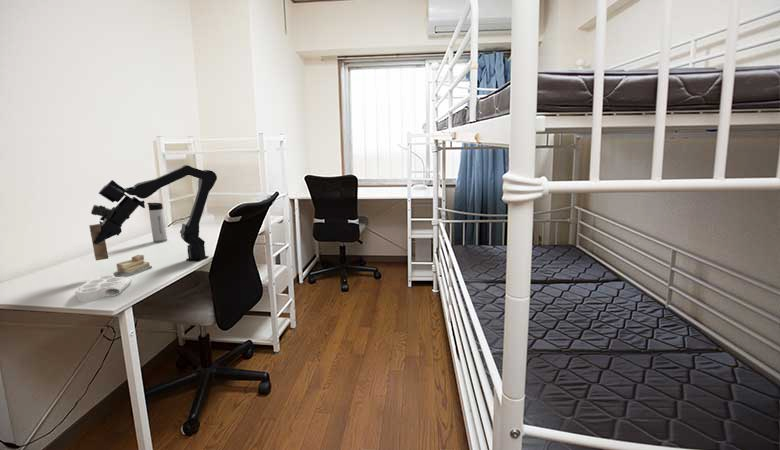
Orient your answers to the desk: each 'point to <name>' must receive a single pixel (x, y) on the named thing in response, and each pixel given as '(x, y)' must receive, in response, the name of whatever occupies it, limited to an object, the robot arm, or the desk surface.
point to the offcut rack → (132, 266)
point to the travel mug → (157, 222)
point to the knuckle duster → (102, 287)
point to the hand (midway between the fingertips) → (94, 242)
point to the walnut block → (99, 248)
